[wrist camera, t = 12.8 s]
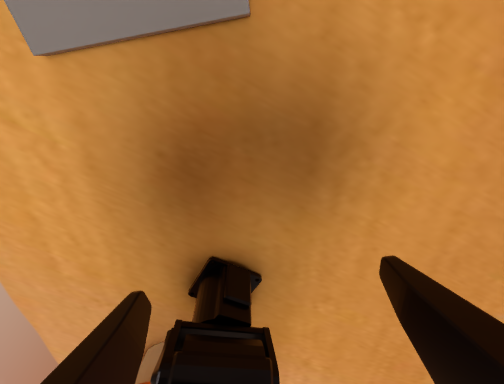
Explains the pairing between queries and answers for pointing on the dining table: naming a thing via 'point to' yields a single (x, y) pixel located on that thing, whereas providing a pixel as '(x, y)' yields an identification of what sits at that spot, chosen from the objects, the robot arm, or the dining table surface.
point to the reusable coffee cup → (149, 364)
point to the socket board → (112, 20)
